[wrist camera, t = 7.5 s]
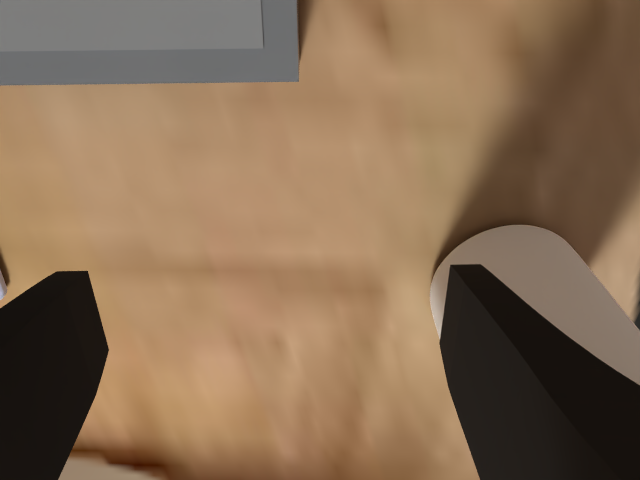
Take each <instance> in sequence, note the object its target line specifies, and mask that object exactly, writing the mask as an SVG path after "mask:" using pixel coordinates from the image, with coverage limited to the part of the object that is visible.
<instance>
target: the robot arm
mask: <svg viewBox="0 0 640 480" xmlns="http://www.w3.org/2000/svg"><path fill="white" fill-rule="evenodd" d="M6 293H7V287H6V284H5V281H4V278H3V276H2V273H1V270H0V300H1V299H3V297H4V296H5V295H6ZM440 349H441V354H442V359H443V364H444V369H445V374H446V378H447V383H448V387H449V390H450V393H451V397H452V400H453V402H454V405H455V408H456V411H457V414H458V417H459V420H460V423H461V426H462V429H463V432H464V434H465V437H466V440H467V443H468V446H469V449H470V452H471V455H472V457H473V460H474V463H475V466H476V469H477V472H478V475H479V477H480V480H640V385H639V384H637V383H636V382H634V381H632V380H631V379H629V378H628V377H626V376H624V375H623V374H621V373H620V372H618V371H616V370H615V369H613V368H612V367H610V366H609V365H607V364H606V363H604V362H603V361H601V360H600V359H599V358H597V357H596V356H594V355H593V354H592V353H590V352H589V351H588V350H586V349H585V348H583V347H582V346H581V345H579V344H578V343H577V342H575V341H574V340H572V339H571V338H570V337H568V336H567V335H566V334H565V333H563V332H562V331H561V330H559V329H558V328H557V327H555V326H554V325H553V324H552V323H550V322H549V321H548V320H547V319H545V318H544V317H543V316H542V315H541V314H539V313H538V312H537V311H536V310H534V309H533V308H532V307H531V306H530V305H528V304H527V303H526V302H525V301H524V300H523V299H521V298H520V297H519V296H518V295H517V294H516V293H514V292H513V291H512V290H511V289H510V288H509V287H507V286H506V285H505V284H504V283H503V282H502V281H500V280H499V279H498V278H497V277H496V276H495V275H493V274H492V273H491V272H490V271H489V270H488V269H486V268H485V267H484V266H482V265H481V264H457V265H450V270H449V277H448V284H447V292H446V299H445V306H444V314H443V321H442V328H441V336H440ZM108 351H109V349H108V345H107V341H106V337H105V334H104V330H103V326H102V322H101V319H100V315H99V311H98V308H97V304H96V300H95V296H94V293H93V289H92V285H91V282H90V278H89V274H88V271H57V272H55V273H53V274H52V275H50V276H48V277H46V278H45V279H43V280H42V281H40V282H39V283H37V284H36V285H34V286H33V287H31V288H30V289H28V290H27V291H25V292H24V293H22V294H21V295H19V296H18V297H16V298H15V299H13V300H12V301H11V302H9V303H8V304H6V305H5V306H3V307H2V308H0V480H58V478H59V476H60V474H61V472H62V470H63V467H64V465H65V463H66V461H67V459H68V457H69V454H70V452H71V450H72V448H73V446H74V443H75V441H76V439H77V437H78V434H79V432H80V430H81V428H82V426H83V423H84V421H85V419H86V416H87V414H88V412H89V410H90V407H91V405H92V403H93V400H94V398H95V396H96V393H97V390H98V386H99V383H100V380H101V376H102V373H103V369H104V366H105V362H106V358H107V355H108Z"/></svg>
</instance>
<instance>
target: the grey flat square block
mask: <svg viewBox="0 0 640 480" xmlns="http://www.w3.org/2000/svg"><path fill="white" fill-rule="evenodd" d="M299 65H300V57H299V18H298V0H0V85H68V84H146V83H225V82H299Z"/></svg>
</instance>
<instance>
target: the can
mask: <svg viewBox="0 0 640 480" xmlns="http://www.w3.org/2000/svg"><path fill="white" fill-rule="evenodd" d="M457 264H481V265H482V266H484V267H485V268H486V269H488V270H489V271H490V272H491V273H492V274H493V275H495V276H496V277H497V278H498V279H499V280H500V281H502V282H503V283H504V284H505V285H506V286H507V287H509V288H510V289H511V290H512V291H513V292H514V293H516V294H517V295H518V296H519V297H520V298H521V299H523V300H524V301H525V302H526V303H527V304H528V305H530V306H531V307H532V308H533V309H534V310H536V311H537V312H538V313H539V314H541V315H542V316H543V317H544V318H545V319H547V320H548V321H549V322H550V323H552V324H553V325H554V326H555V327H557V328H558V329H559V330H561V331H562V332H563V333H565V334H566V335H567V336H568V337H570V338H571V339H572V340H574V341H575V342H577V343H578V344H579V345H581V346H582V347H583V348H585V349H586V350H588V351H589V352H590V353H592V354H593V355H594V356H596V357H597V358H599V359H600V360H601V361H603V362H604V363H606V364H607V365H609V366H610V367H612V368H613V369H615V370H616V371H618V372H620V373H621V374H623V375H624V376H626V377H628V378H629V379H631V380H632V381H634V382H636V383H637V384H639V385H640V331H639V329H638V328H637V327H636V326H635V324H634V323H633V322H632V321H631V319H630V318H629V317H628V316H627V314H626V313H625V312H624V311H623V309H622V308H621V307H620V306H619V304H618V303H617V302H616V301H615V299H614V298H613V297H612V296H611V294H610V293H609V292H608V290H607V289H606V288H605V287H604V286H603V284H602V283H601V282H600V281H599V279H598V278H597V277H596V276H595V274H594V273H593V272H592V271H591V269H590V268H589V267H588V266H587V264H586V263H585V262H584V261H583V260H582V258H581V257H580V256H579V255H578V254H577V252H576V251H575V250H574V249H573V248H572V247H571V245H570V244H569V243H568V242H566V241H565V240H564V239H563V238H562V237H560V236H559V235H557V234H556V233H554V232H552V231H549V230H547V229H544V228H540V227H536V226H530V225H508V226H501V227H497V228H493V229H490V230H487V231H484V232H481V233H479V234H477V235H475V236H473V237H471V238H469V239H468V240H466V241H464V242H463V243H461V244H460V245H459V246H457V247H456V248H455V249H454V250H453V251H452V252H451V253H450V254H449V255H448V256H447V257H446V258H445V259H444V260H443V262H442V263H441V264H440V265H439V267H438V268H437V270H436V272H435V274H434V277H433V280H432V283H431V289H430V304H431V310H432V314H433V318H434V322H435V325H436V328H437V332H438V335H439V338H440V336H441V328H442V321H443V314H444V306H445V299H446V292H447V284H448V277H449V270H450V265H457Z"/></svg>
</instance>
